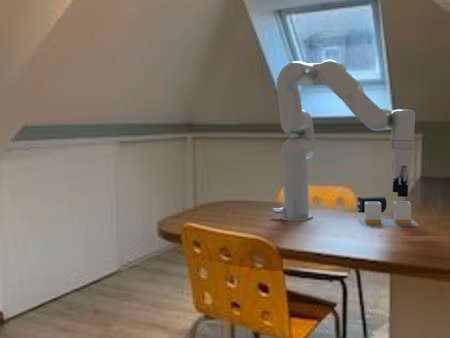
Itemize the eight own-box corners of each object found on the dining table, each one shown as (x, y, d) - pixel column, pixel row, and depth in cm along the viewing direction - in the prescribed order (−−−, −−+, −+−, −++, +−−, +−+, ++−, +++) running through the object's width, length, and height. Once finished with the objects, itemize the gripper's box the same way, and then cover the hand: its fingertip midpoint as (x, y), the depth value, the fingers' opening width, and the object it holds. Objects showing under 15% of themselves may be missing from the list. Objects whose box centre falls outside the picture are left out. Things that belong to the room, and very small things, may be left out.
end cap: (362, 214, 204) (362, 198, 203) (356, 211, 211) (356, 195, 210) (386, 213, 204) (386, 197, 204) (380, 210, 211) (380, 194, 211)
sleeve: (396, 223, 177) (396, 203, 176) (393, 220, 182) (393, 201, 181) (411, 223, 176) (411, 203, 175) (408, 221, 181) (408, 201, 180)
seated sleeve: (366, 223, 178) (366, 203, 177) (364, 220, 183) (364, 201, 182) (381, 223, 177) (381, 203, 177) (379, 220, 182) (379, 201, 182)
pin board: (361, 229, 175) (361, 214, 175) (358, 223, 187) (358, 208, 186) (419, 230, 172) (419, 214, 172) (412, 223, 184) (412, 208, 183)
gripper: (386, 143, 185) (384, 190, 187) (395, 146, 168) (392, 198, 170) (408, 144, 184) (406, 191, 186) (418, 147, 167) (416, 198, 169)
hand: (399, 194), depth 178 cm, fingers open, 9 cm apart
